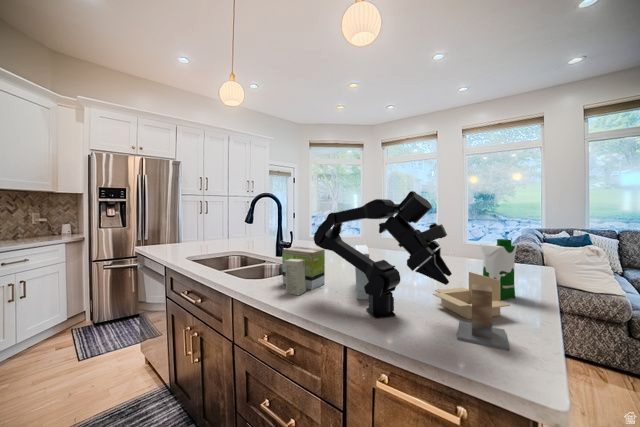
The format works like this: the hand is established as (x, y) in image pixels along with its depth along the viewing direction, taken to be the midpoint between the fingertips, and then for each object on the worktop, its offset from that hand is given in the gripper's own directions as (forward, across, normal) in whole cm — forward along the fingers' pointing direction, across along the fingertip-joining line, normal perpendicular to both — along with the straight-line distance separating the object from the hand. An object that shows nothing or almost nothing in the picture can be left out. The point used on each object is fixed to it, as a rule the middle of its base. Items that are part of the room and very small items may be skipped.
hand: (449, 279), depth 67 cm
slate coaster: (+14, 0, +4) cm, 15 cm away
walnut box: (+14, 0, +4) cm, 14 cm away
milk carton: (+18, +37, 0) cm, 41 cm away
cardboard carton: (+11, +16, +7) cm, 21 cm away
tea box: (-30, +16, +48) cm, 59 cm away
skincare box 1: (-27, +5, +46) cm, 53 cm away
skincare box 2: (-13, +20, +31) cm, 39 cm away
